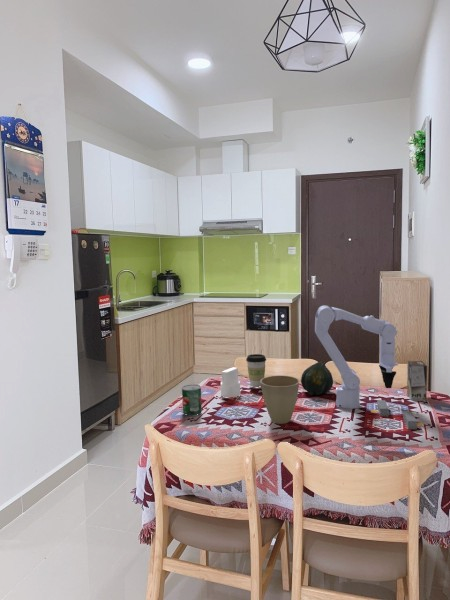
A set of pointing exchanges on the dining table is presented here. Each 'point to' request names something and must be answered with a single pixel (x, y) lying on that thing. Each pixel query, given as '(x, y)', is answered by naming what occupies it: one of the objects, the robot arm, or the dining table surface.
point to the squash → (317, 379)
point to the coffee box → (416, 380)
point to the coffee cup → (256, 368)
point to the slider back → (382, 407)
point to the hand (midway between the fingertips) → (387, 385)
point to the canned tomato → (191, 399)
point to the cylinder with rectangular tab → (230, 383)
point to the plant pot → (280, 397)
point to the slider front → (409, 420)
